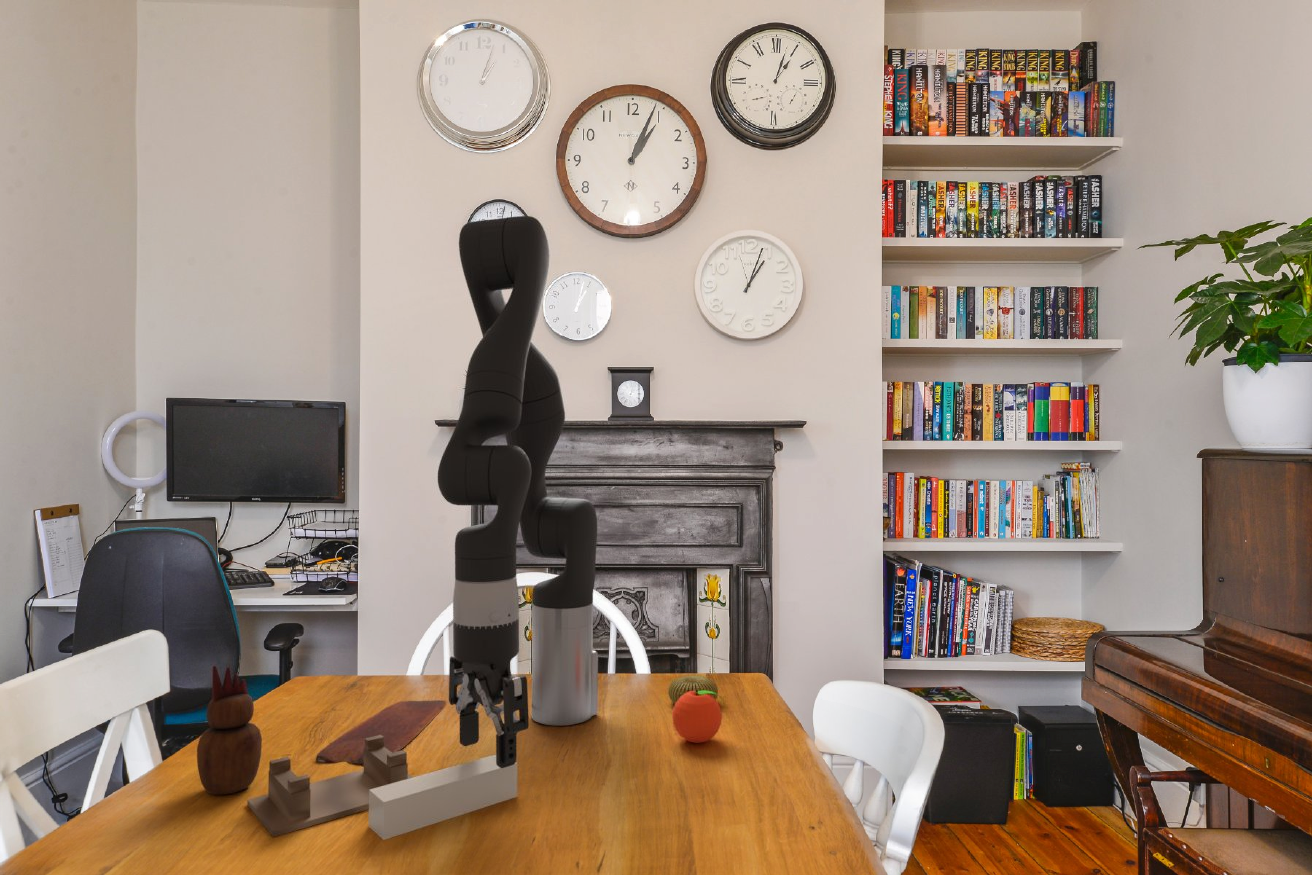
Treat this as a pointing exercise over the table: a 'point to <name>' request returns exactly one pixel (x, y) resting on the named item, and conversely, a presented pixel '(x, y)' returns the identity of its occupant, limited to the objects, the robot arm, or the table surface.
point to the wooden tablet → (382, 731)
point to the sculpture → (691, 686)
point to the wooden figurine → (229, 738)
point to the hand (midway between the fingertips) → (487, 754)
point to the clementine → (697, 716)
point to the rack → (325, 790)
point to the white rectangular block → (439, 796)
